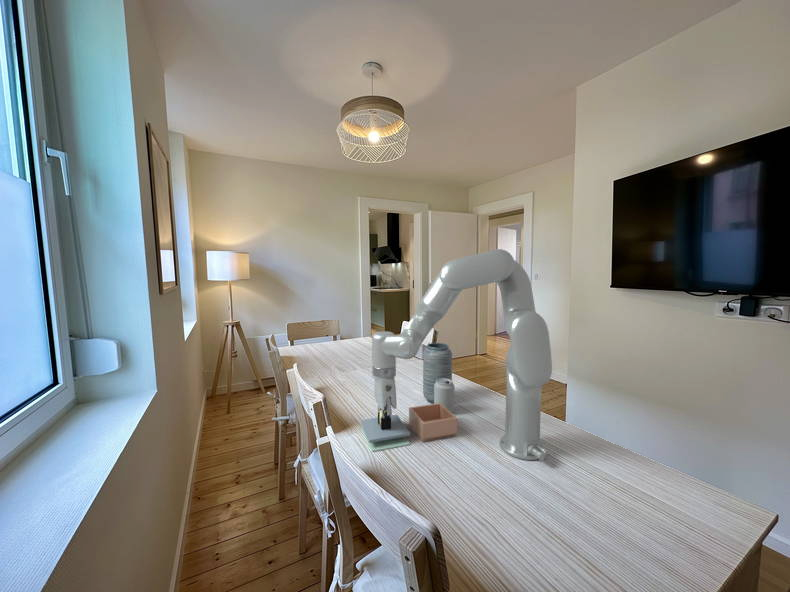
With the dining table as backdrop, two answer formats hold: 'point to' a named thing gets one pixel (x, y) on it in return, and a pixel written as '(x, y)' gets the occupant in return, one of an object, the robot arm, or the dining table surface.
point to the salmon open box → (432, 422)
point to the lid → (377, 434)
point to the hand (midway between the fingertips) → (384, 425)
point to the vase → (435, 367)
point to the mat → (388, 443)
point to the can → (444, 393)
